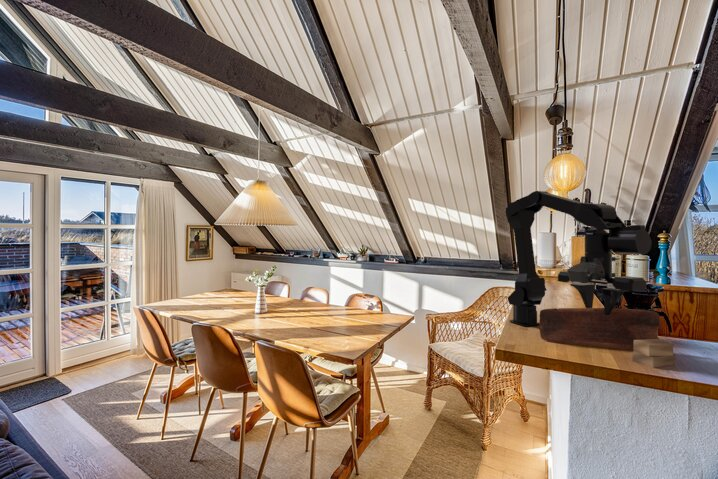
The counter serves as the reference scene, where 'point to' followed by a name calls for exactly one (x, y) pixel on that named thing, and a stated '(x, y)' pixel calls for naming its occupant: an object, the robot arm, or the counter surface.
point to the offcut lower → (653, 360)
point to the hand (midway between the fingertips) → (597, 313)
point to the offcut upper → (653, 347)
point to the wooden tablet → (598, 326)
